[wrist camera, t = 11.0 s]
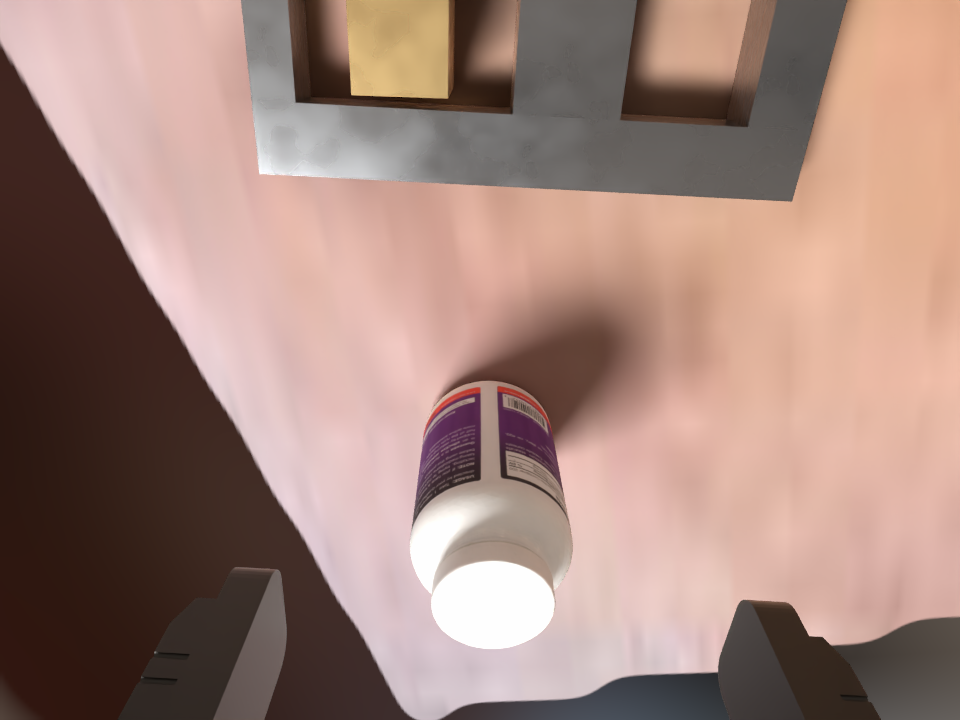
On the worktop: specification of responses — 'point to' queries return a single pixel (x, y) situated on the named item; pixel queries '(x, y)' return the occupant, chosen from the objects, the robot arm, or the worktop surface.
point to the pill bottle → (490, 516)
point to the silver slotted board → (554, 110)
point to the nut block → (401, 47)
